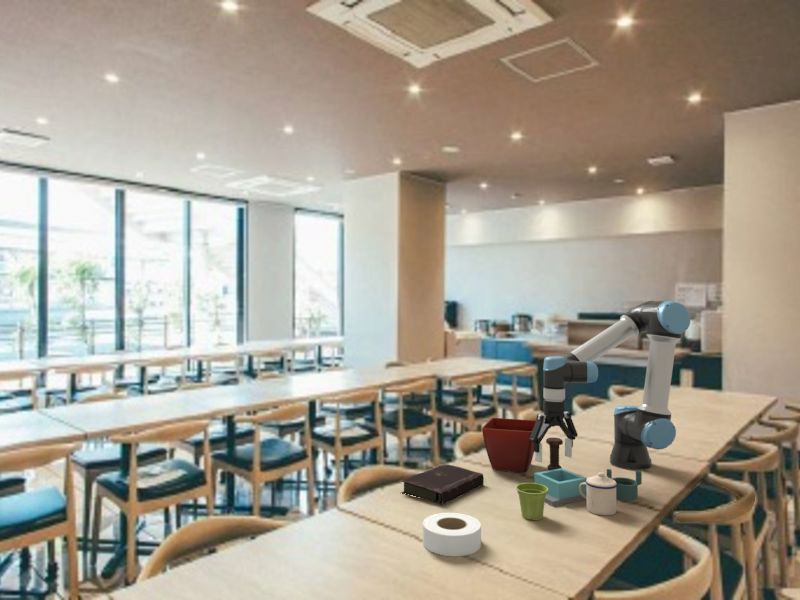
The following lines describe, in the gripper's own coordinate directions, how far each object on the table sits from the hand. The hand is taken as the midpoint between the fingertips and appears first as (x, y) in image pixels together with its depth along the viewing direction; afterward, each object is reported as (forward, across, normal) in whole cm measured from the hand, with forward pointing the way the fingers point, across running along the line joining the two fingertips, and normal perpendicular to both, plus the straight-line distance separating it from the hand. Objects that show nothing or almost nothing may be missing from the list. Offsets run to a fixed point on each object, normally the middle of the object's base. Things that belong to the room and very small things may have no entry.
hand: (553, 459), depth 197 cm
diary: (+9, +40, -11) cm, 42 cm away
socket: (+8, +8, +12) cm, 16 cm away
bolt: (+8, 0, 0) cm, 8 cm away
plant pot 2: (+8, +28, +22) cm, 36 cm away
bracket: (+8, -10, +22) cm, 26 cm away
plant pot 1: (+8, +4, -20) cm, 22 cm away
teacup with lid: (+8, +6, +26) cm, 28 cm away
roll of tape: (+9, +58, +27) cm, 65 cm away
